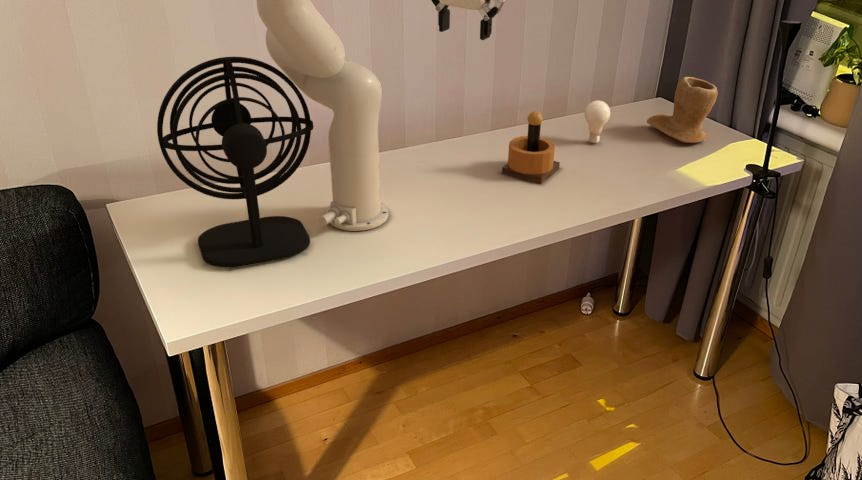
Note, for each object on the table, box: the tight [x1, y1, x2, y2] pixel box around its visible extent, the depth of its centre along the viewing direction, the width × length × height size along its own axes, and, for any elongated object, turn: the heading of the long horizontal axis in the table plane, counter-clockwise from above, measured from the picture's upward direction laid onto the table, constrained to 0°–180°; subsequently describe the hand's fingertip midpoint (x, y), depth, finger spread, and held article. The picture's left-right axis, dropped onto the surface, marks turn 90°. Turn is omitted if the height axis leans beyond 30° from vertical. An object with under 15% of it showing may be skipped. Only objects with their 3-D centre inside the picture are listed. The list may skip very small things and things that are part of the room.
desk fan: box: [156, 56, 314, 269], centre depth 141 cm, size 27×18×35 cm, turn 115°
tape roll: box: [507, 135, 556, 175], centre depth 180 cm, size 10×10×5 cm
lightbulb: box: [584, 99, 612, 144], centre depth 195 cm, size 6×6×11 cm
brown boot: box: [646, 76, 718, 144], centre depth 201 cm, size 15×12×15 cm
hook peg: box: [526, 110, 544, 152], centre depth 178 cm, size 3×3×13 cm
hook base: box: [501, 160, 560, 185], centre depth 182 cm, size 10×10×2 cm
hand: (464, 34), depth 161 cm, fingers open, 9 cm apart
